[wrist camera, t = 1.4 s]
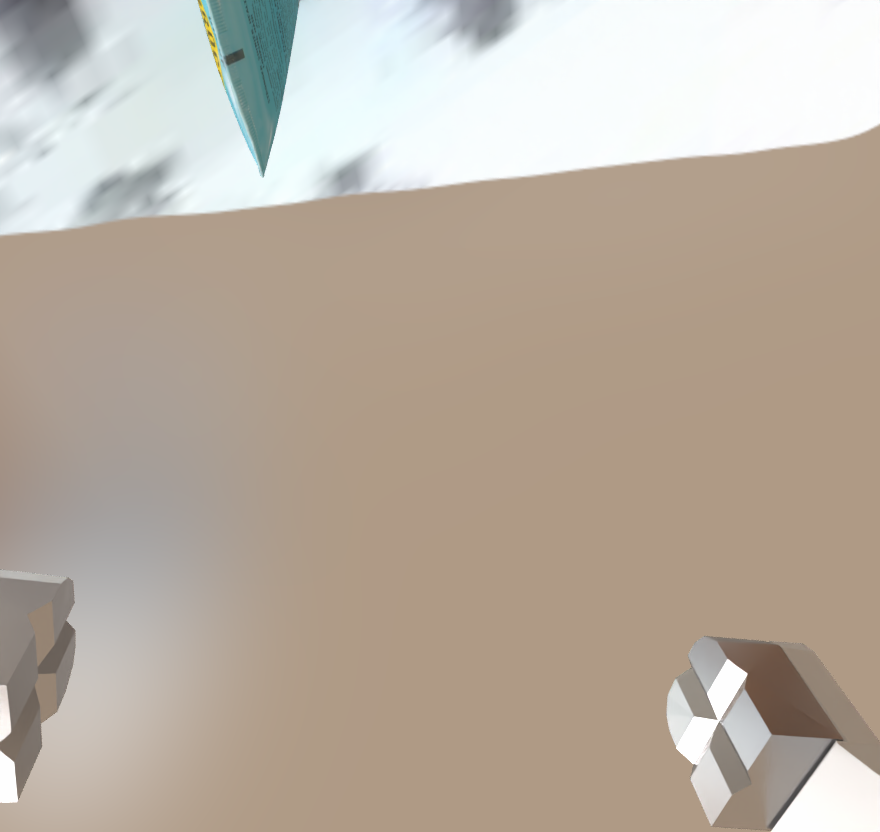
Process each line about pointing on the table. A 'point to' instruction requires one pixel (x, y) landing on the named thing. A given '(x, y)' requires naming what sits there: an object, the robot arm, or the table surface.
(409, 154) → the table surface
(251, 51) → the tube
